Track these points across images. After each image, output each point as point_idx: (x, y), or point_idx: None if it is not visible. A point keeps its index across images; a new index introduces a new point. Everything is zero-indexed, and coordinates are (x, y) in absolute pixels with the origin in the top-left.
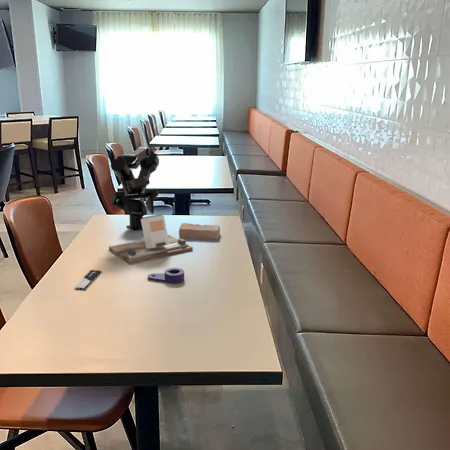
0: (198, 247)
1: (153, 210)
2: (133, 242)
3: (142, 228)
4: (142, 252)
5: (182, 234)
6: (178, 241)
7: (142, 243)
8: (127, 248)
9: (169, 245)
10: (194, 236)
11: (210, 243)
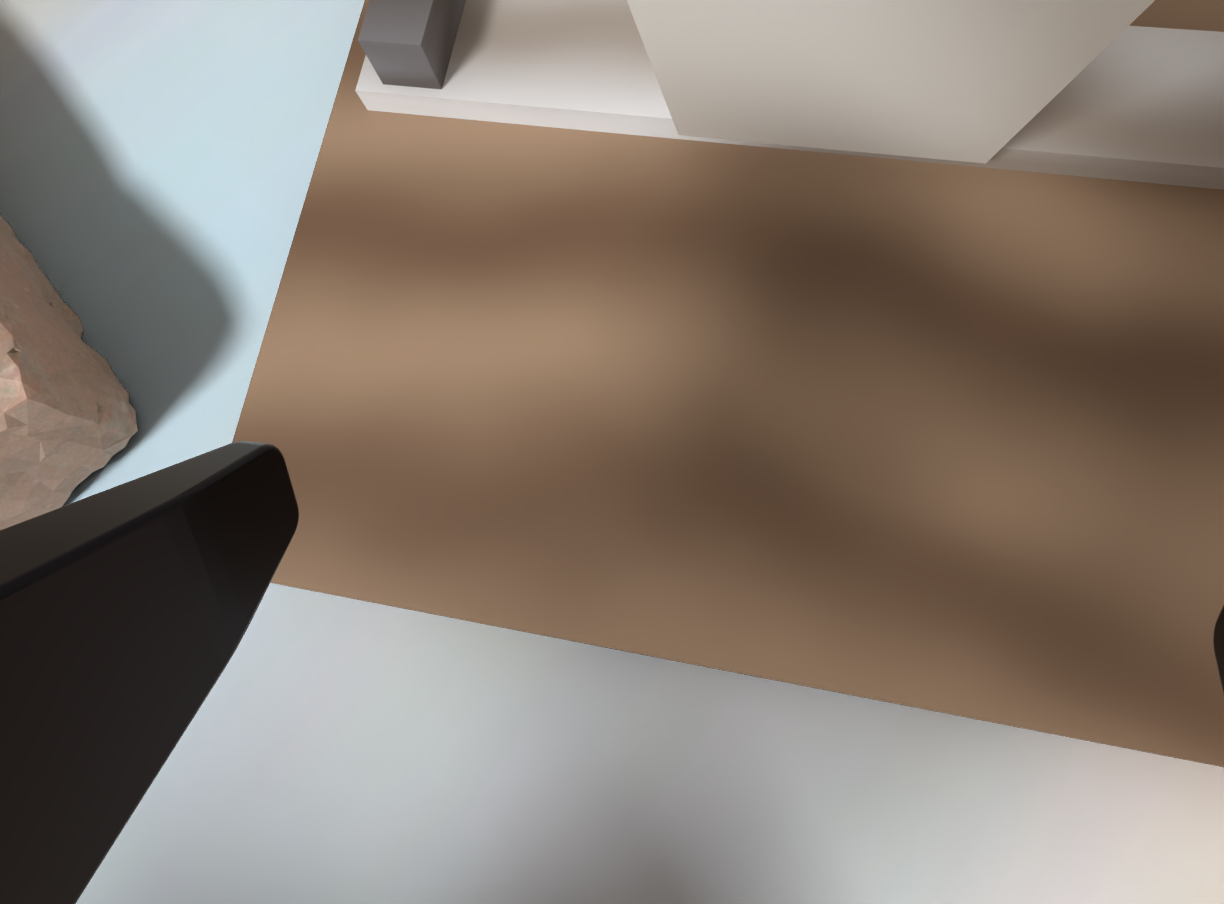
0: (275, 4)
1: (178, 466)
2: (910, 662)
3: (1122, 29)
4: (1127, 79)
5: (82, 375)
6: (435, 58)
7: (814, 504)
8: (1177, 469)
9: (606, 81)
10: (17, 253)
11: (70, 24)
